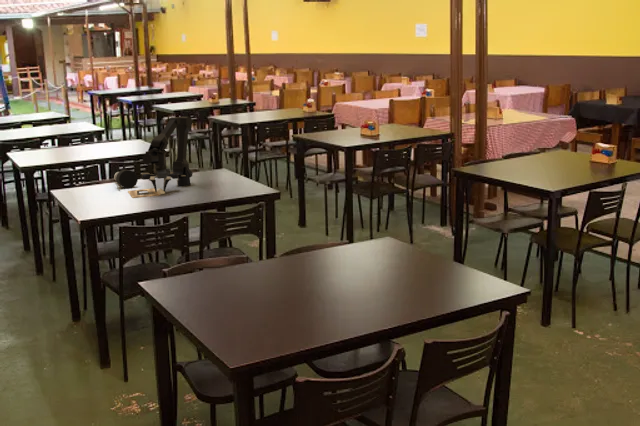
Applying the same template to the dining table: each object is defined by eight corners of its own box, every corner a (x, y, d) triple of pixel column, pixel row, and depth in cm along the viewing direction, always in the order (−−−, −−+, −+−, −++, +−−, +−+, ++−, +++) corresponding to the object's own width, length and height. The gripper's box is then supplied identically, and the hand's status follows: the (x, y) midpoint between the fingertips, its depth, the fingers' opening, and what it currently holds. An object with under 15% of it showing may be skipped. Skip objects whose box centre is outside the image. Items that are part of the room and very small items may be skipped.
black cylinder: (122, 187, 417) (128, 171, 417) (133, 191, 386) (140, 174, 387) (106, 181, 412) (112, 165, 413) (116, 184, 382) (123, 167, 382)
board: (154, 191, 378) (153, 184, 377) (160, 197, 362) (159, 190, 361) (128, 194, 373) (127, 186, 372) (132, 200, 356) (132, 192, 356)
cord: (163, 190, 372) (158, 187, 371) (166, 192, 366) (161, 189, 364) (160, 195, 372) (155, 191, 371) (162, 197, 366) (157, 194, 364)
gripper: (143, 165, 354) (144, 195, 357) (180, 164, 361) (180, 193, 364) (140, 162, 364) (141, 191, 367) (176, 161, 371) (176, 190, 374)
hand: (160, 191), depth 368 cm, fingers open, 4 cm apart
